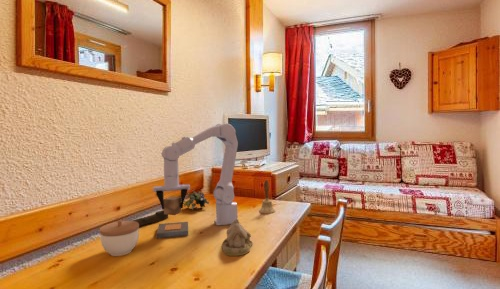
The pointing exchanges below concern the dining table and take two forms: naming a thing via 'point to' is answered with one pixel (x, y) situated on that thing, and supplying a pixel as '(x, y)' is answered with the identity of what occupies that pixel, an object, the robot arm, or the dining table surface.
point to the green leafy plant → (197, 198)
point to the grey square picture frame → (172, 230)
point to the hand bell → (267, 201)
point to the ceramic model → (237, 240)
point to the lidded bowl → (119, 237)
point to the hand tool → (152, 218)
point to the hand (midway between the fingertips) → (172, 208)
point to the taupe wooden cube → (172, 205)
